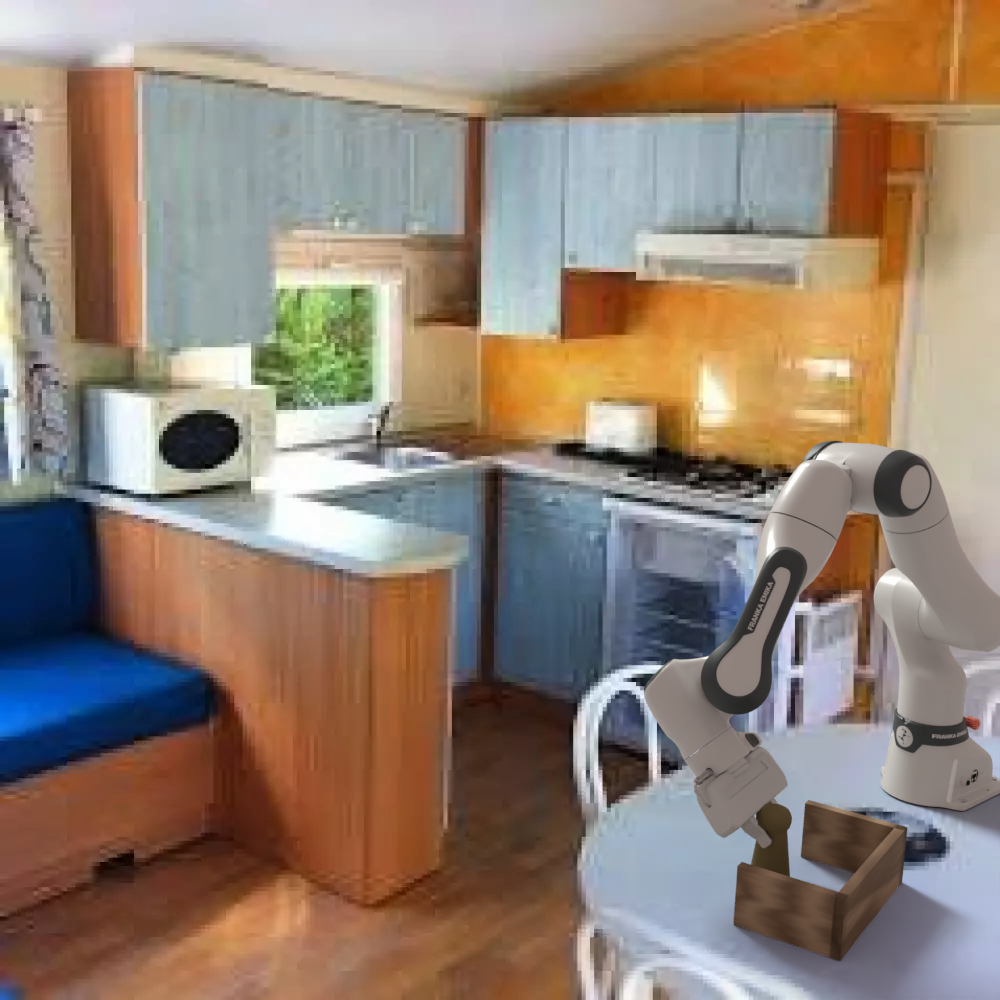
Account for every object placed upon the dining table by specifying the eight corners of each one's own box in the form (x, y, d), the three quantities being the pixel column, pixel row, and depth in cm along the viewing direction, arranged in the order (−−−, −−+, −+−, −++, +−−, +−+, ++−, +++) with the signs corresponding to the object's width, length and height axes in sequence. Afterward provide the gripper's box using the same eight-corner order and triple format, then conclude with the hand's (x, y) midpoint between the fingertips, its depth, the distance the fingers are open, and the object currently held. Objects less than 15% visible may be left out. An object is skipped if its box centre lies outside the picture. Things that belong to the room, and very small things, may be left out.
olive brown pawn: (790, 887, 189) (796, 818, 186) (748, 882, 190) (753, 813, 187) (789, 868, 194) (795, 800, 192) (748, 863, 196) (753, 796, 193)
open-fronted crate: (733, 924, 181) (737, 865, 180) (804, 852, 203) (808, 799, 201) (840, 961, 173) (845, 899, 171) (902, 882, 195) (907, 827, 193)
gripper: (704, 771, 184) (763, 854, 180) (761, 729, 200) (816, 804, 197) (674, 792, 187) (732, 874, 184) (732, 749, 204) (786, 823, 200)
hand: (776, 837), depth 190 cm, fingers closed on olive brown pawn, 4 cm apart
